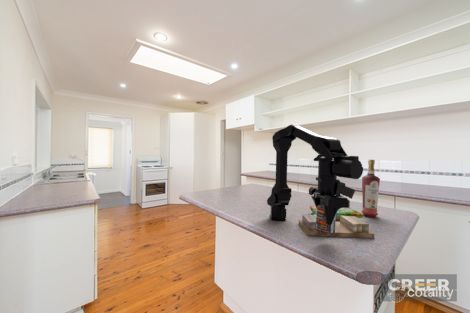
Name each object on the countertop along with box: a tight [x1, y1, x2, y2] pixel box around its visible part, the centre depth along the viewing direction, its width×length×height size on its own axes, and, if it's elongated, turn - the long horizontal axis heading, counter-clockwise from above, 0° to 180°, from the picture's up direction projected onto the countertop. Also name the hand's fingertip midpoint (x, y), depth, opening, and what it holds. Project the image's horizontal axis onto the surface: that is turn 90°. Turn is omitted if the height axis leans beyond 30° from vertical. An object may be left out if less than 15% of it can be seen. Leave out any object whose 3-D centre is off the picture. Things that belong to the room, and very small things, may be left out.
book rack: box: [298, 214, 375, 239], centre depth 79 cm, size 24×12×4 cm, turn 87°
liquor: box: [361, 159, 381, 218], centre depth 98 cm, size 7×7×28 cm
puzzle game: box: [309, 204, 364, 222], centre depth 95 cm, size 12×5×20 cm
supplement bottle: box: [316, 199, 337, 237], centre depth 67 cm, size 6×6×11 cm
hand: (325, 221), depth 67 cm, fingers closed on supplement bottle, 6 cm apart
